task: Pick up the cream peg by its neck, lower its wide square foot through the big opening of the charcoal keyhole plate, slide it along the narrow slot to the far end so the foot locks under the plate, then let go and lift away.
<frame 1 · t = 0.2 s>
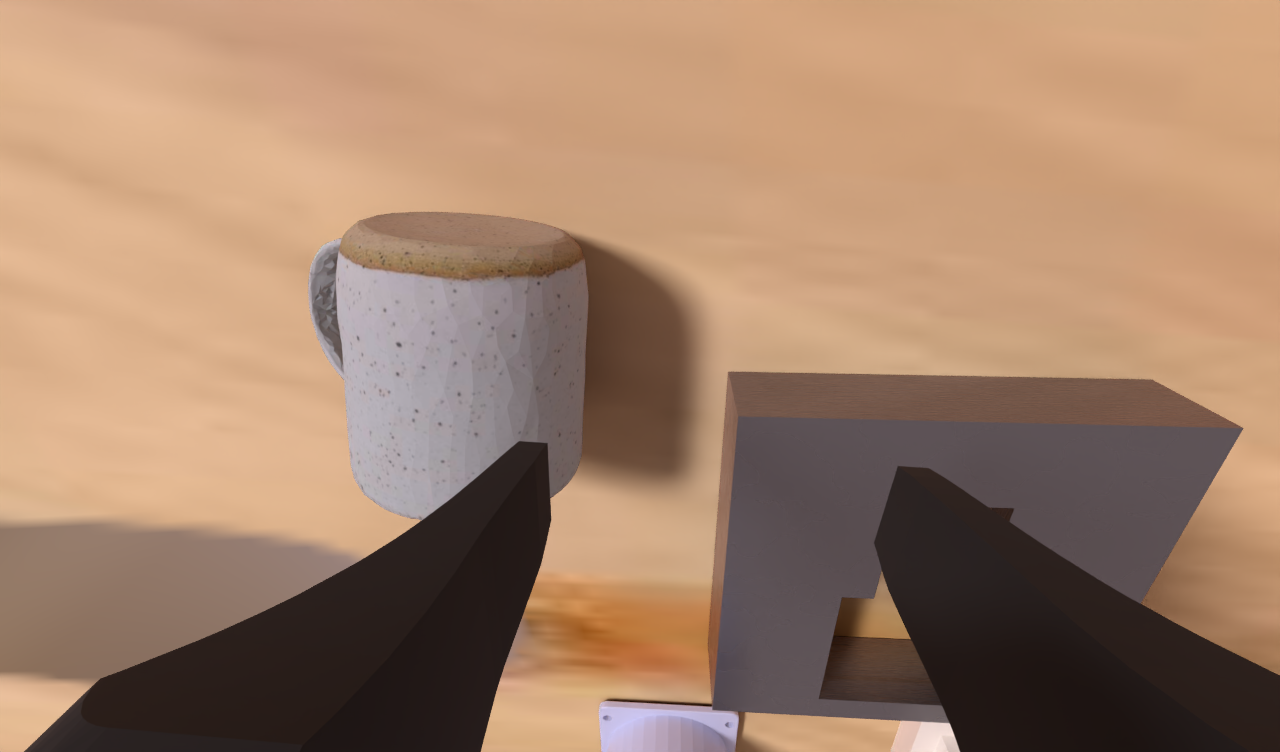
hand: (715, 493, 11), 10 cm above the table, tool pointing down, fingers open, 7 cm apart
peg: (949, 724, 29), on the table
ceramic mug: (473, 317, 20), on the table
keyhole plate: (893, 533, 24), on the table
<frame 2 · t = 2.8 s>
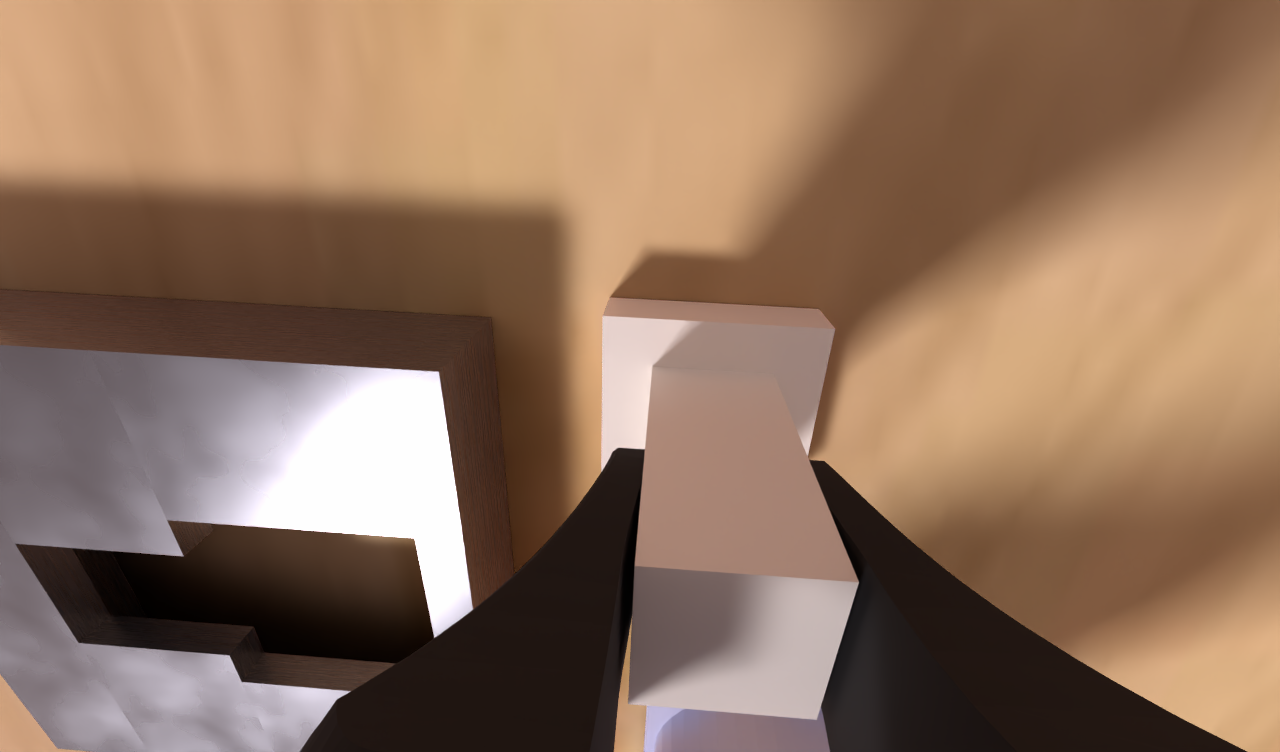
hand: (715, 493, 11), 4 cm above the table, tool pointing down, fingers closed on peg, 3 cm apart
peg: (703, 395, 15), on the table, touching gripper
keyhole plate: (282, 523, 18), on the table
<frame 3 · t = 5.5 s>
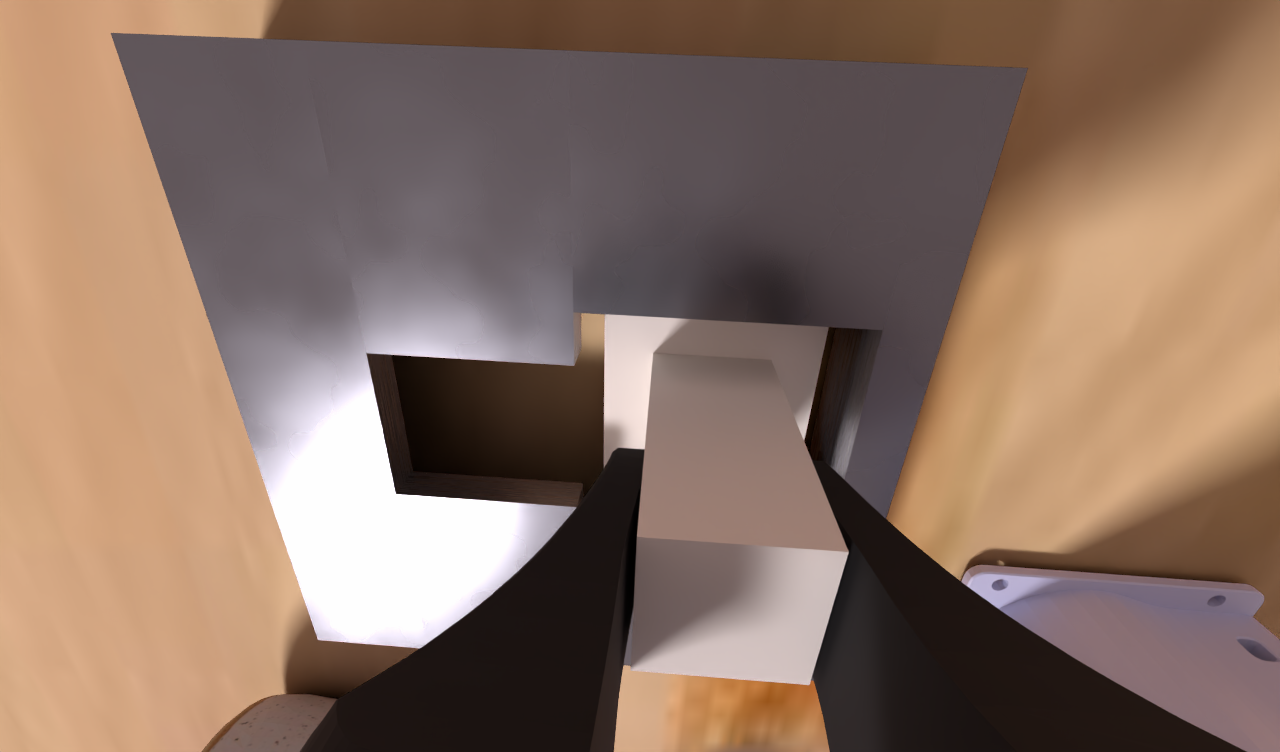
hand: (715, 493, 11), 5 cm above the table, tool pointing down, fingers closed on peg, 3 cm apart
peg: (703, 381, 15), resting in keyhole plate, touching gripper
ceramic mug: (377, 728, 25), on the table
keyhole plate: (587, 377, 16), on the table
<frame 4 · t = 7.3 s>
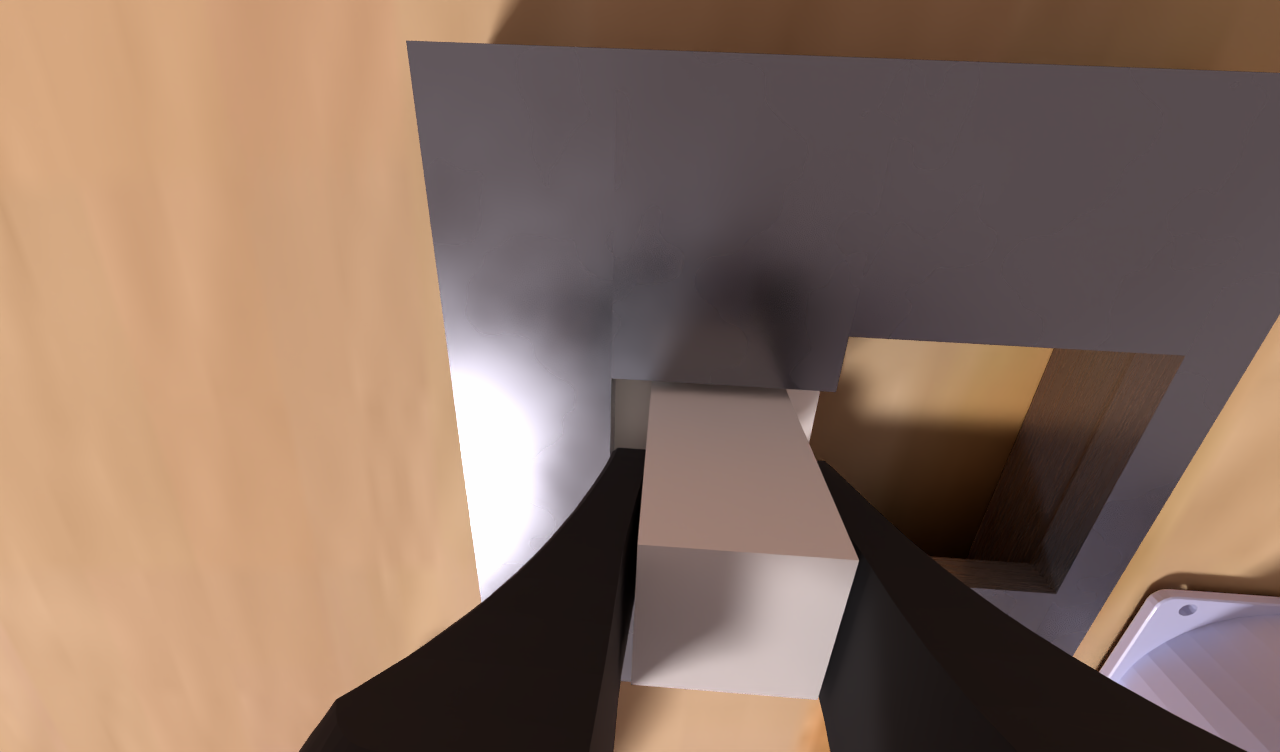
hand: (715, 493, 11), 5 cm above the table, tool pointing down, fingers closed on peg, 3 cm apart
peg: (705, 386, 15), resting in keyhole plate, touching gripper
keyhole plate: (778, 397, 15), on the table
when the fingers open (5 cm above the table, at t = 8.4 s): peg stays where it is, resting in keyhole plate.
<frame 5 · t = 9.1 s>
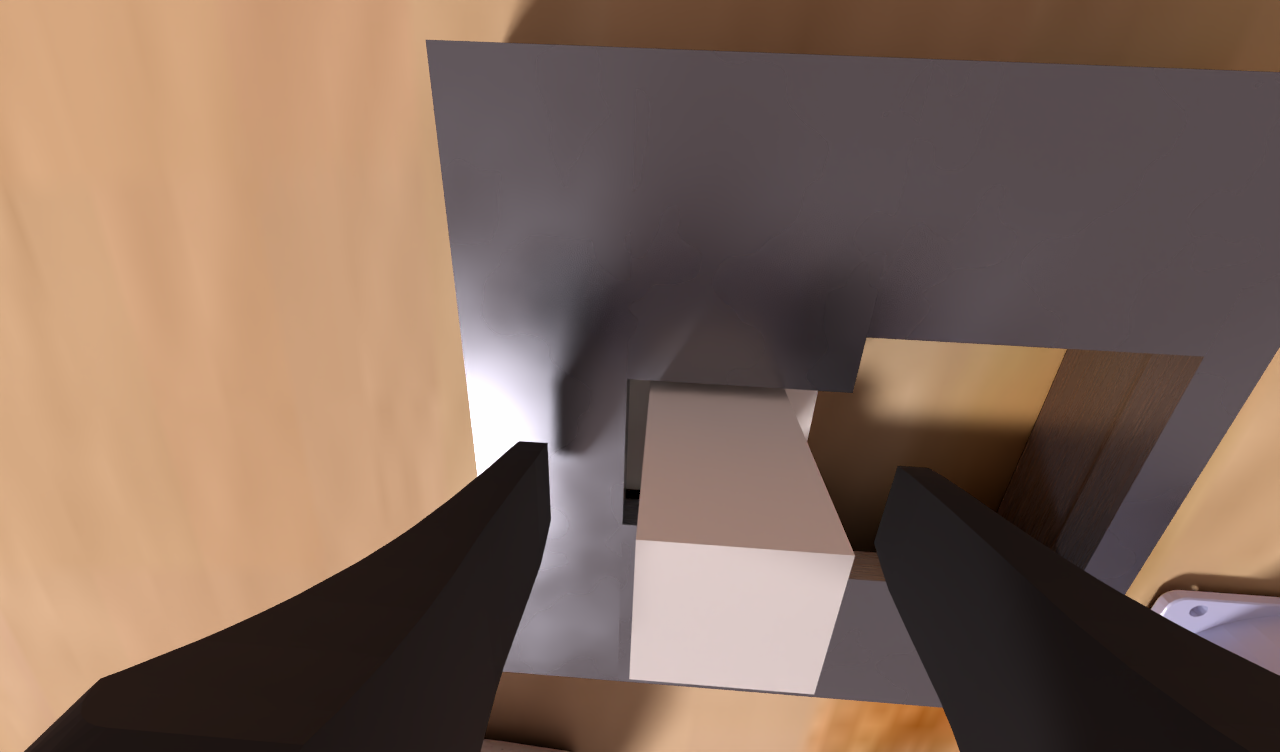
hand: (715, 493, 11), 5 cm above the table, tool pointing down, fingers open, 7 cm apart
peg: (704, 384, 15), resting in keyhole plate
keyhole plate: (790, 397, 15), on the table
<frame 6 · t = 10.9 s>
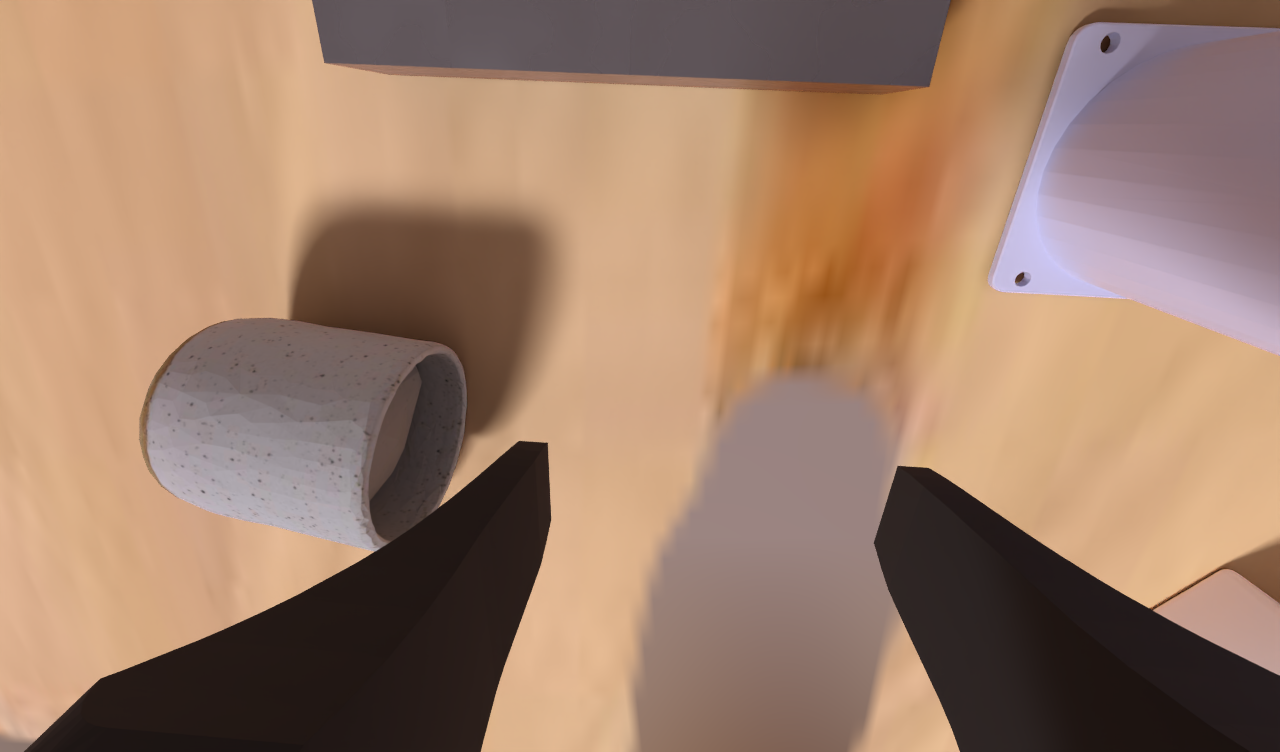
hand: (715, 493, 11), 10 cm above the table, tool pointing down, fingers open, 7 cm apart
ceramic mug: (388, 407, 23), on the table
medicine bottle: (1193, 634, 26), on the table
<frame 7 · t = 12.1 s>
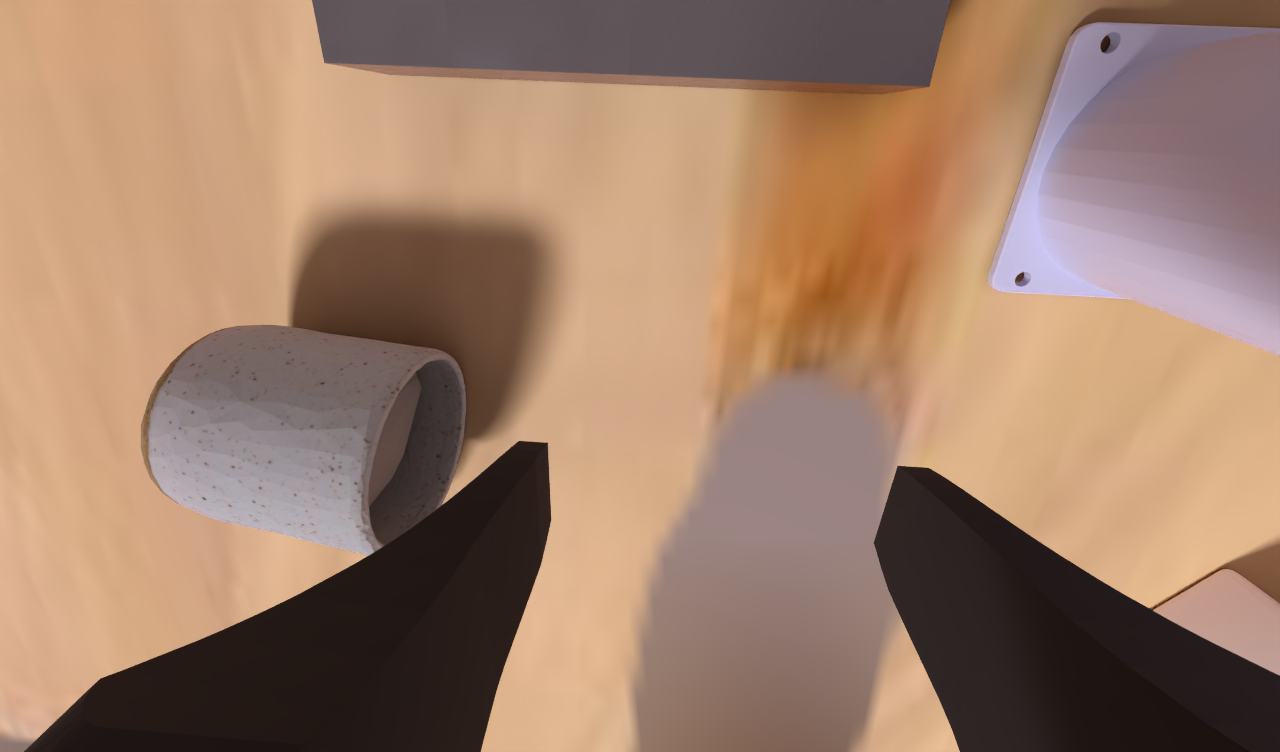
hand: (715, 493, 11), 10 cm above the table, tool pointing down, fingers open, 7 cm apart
ceramic mug: (388, 412, 23), on the table
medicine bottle: (1193, 634, 26), on the table
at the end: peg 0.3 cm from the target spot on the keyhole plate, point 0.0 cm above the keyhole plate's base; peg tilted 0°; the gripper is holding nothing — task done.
